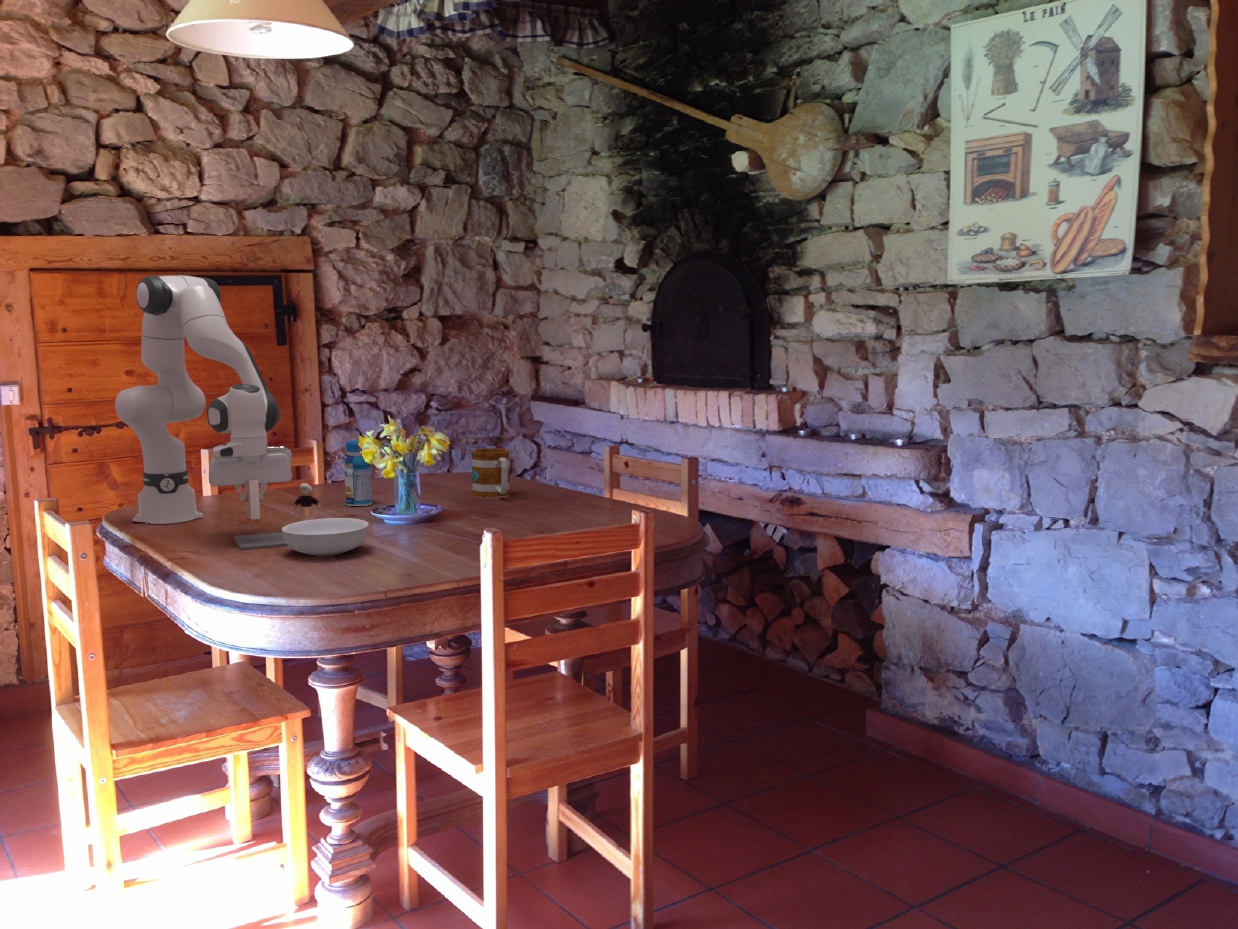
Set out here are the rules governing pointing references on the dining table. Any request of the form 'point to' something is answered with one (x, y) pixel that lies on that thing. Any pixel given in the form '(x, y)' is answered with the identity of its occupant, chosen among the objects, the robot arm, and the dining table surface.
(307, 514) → the grandmother figurine
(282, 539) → the mat
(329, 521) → the serving bowl
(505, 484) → the mug
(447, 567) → the dining table surface
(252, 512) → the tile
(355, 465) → the beverage bottle
